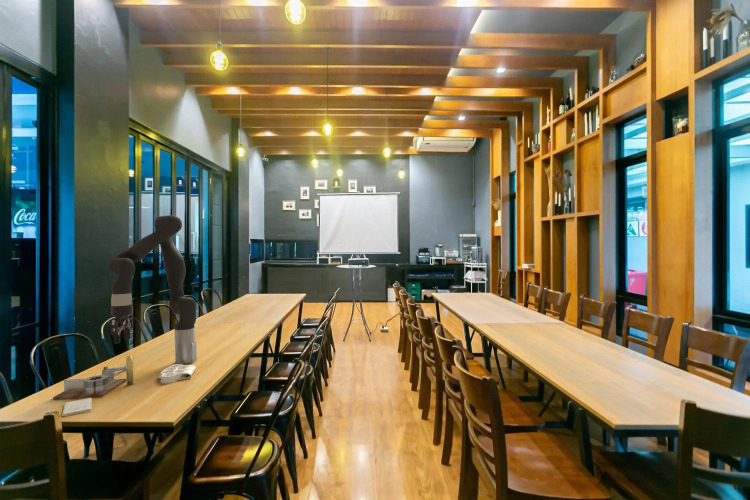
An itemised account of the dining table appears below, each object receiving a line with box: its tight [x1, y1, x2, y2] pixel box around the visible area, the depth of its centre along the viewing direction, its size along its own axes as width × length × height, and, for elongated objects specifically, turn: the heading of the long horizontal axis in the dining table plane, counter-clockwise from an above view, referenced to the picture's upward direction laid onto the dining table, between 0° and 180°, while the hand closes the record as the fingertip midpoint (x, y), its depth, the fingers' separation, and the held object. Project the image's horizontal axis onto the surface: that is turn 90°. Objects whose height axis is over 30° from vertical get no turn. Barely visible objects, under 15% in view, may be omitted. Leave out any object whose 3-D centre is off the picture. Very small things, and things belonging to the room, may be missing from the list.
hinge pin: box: [125, 355, 134, 386], centre depth 166 cm, size 2×2×12 cm
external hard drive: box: [61, 397, 93, 417], centre depth 142 cm, size 2×8×12 cm
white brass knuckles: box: [156, 363, 197, 384], centre depth 176 cm, size 3×18×15 cm
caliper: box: [101, 365, 126, 375], centre depth 180 cm, size 20×1×6 cm, turn 0°
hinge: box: [63, 369, 115, 394], centre depth 160 cm, size 16×16×5 cm
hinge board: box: [52, 378, 127, 401], centre depth 161 cm, size 18×18×1 cm
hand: (122, 341), depth 166 cm, fingers open, 8 cm apart
